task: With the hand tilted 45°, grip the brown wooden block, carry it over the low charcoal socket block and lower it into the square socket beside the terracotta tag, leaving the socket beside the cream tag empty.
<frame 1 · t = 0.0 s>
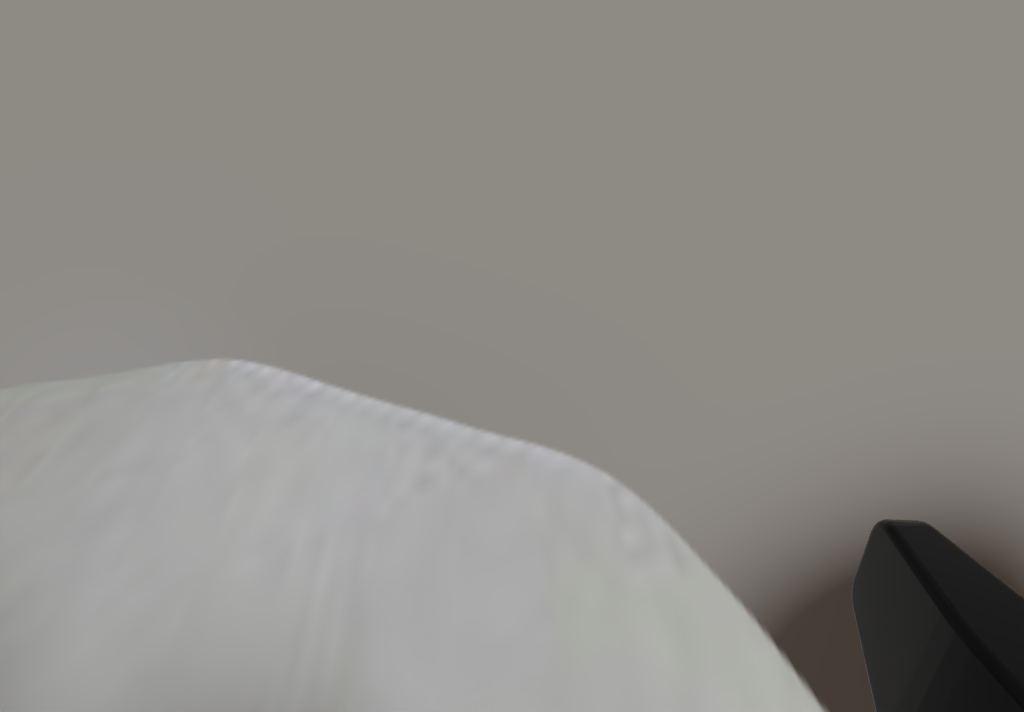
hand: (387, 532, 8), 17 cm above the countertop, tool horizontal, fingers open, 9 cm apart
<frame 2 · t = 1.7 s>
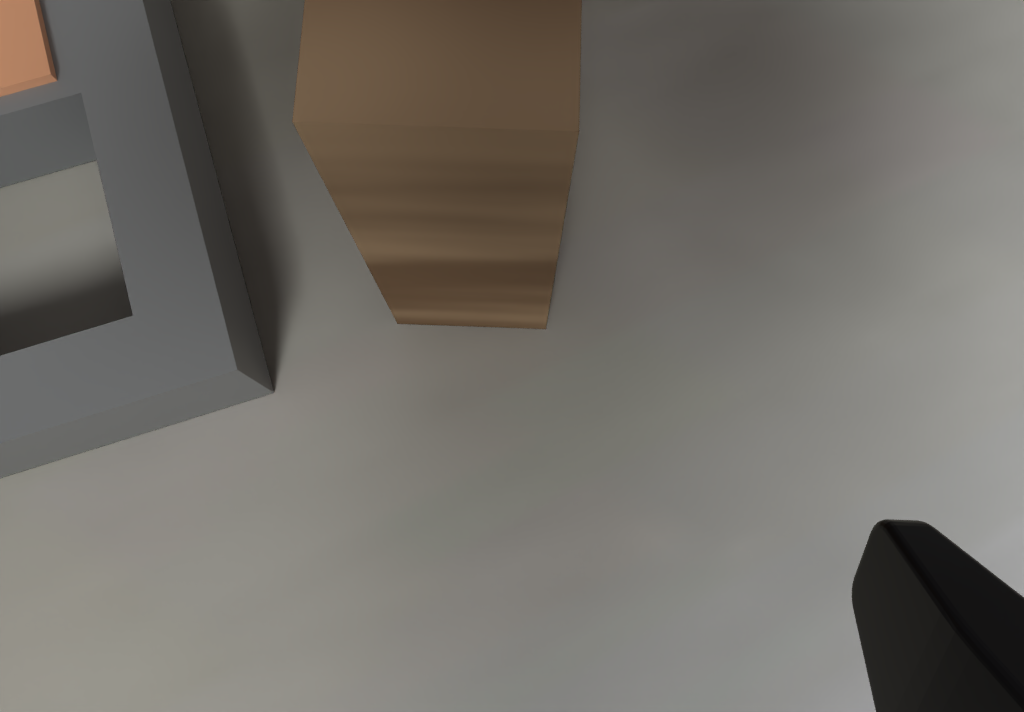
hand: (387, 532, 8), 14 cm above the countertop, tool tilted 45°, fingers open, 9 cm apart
brown wooden block: (474, 255, 23), on the countertop
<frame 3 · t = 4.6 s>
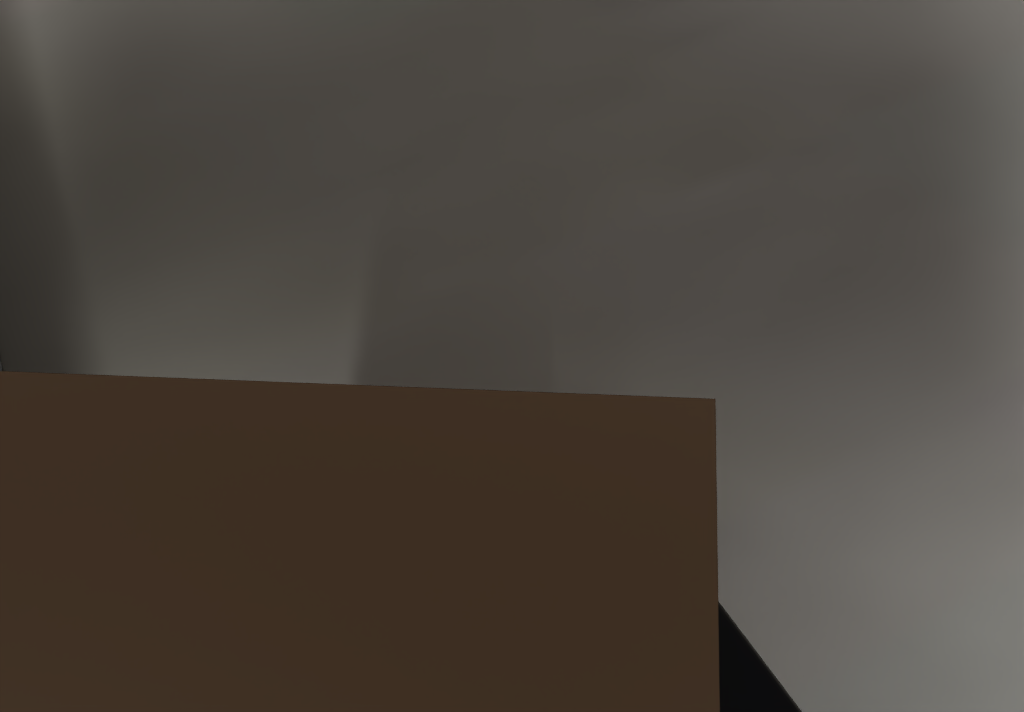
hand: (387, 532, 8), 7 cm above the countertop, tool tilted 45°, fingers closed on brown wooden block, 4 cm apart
brown wooden block: (438, 618, 14), on the countertop, touching gripper
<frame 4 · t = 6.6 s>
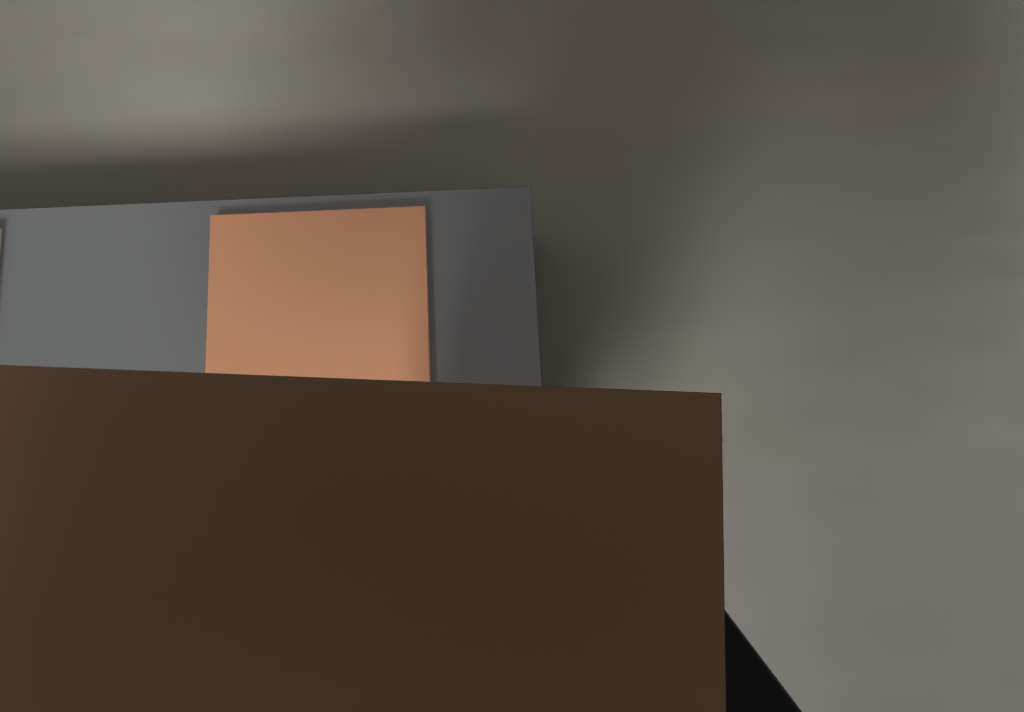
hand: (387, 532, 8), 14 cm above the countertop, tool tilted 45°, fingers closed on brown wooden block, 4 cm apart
brown wooden block: (440, 616, 14), point 7 cm above the countertop, touching gripper
socket block: (147, 589, 21), on the countertop
when the fingers open (8 cm above the countertop, at t = 8.5 s): brown wooden block drops 1 cm, resting in socket block.
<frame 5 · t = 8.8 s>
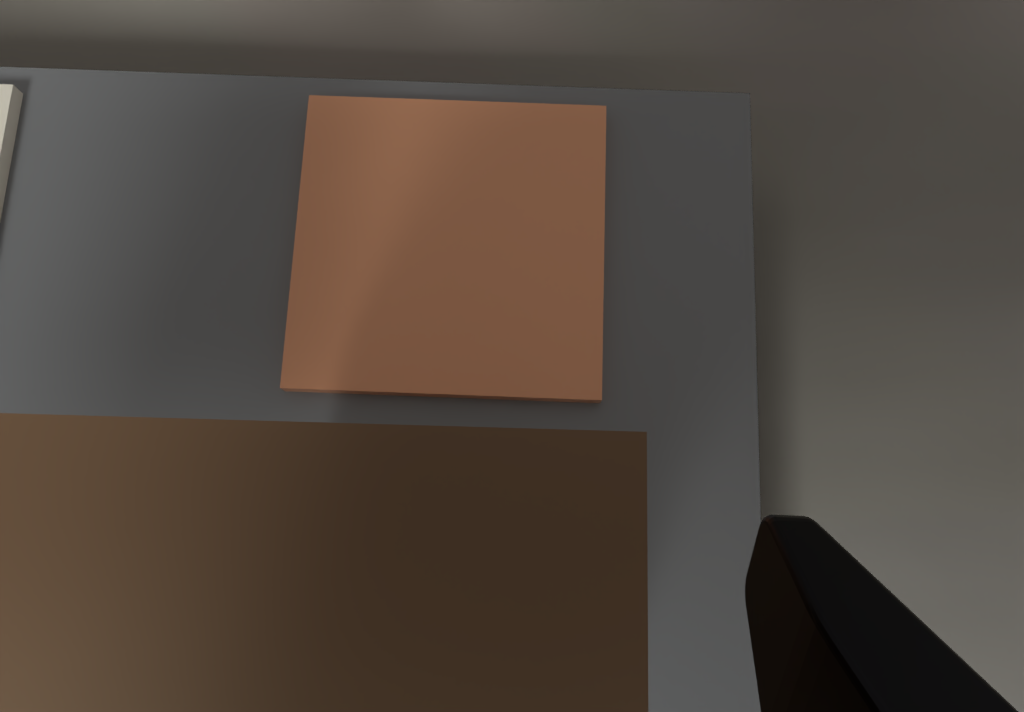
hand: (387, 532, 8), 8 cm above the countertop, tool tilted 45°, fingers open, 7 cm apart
brown wooden block: (444, 608, 15), resting in socket block
socket block: (175, 599, 15), on the countertop
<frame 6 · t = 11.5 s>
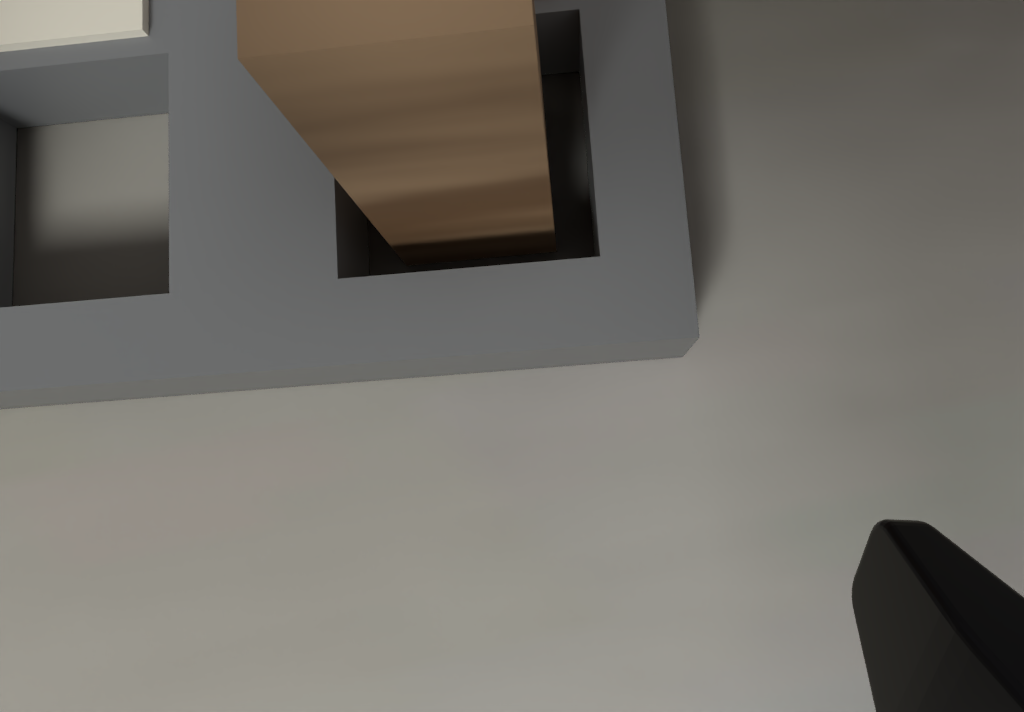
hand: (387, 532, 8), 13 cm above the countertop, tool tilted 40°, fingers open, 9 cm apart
brown wooden block: (476, 186, 22), resting in socket block
socket block: (293, 204, 22), on the countertop
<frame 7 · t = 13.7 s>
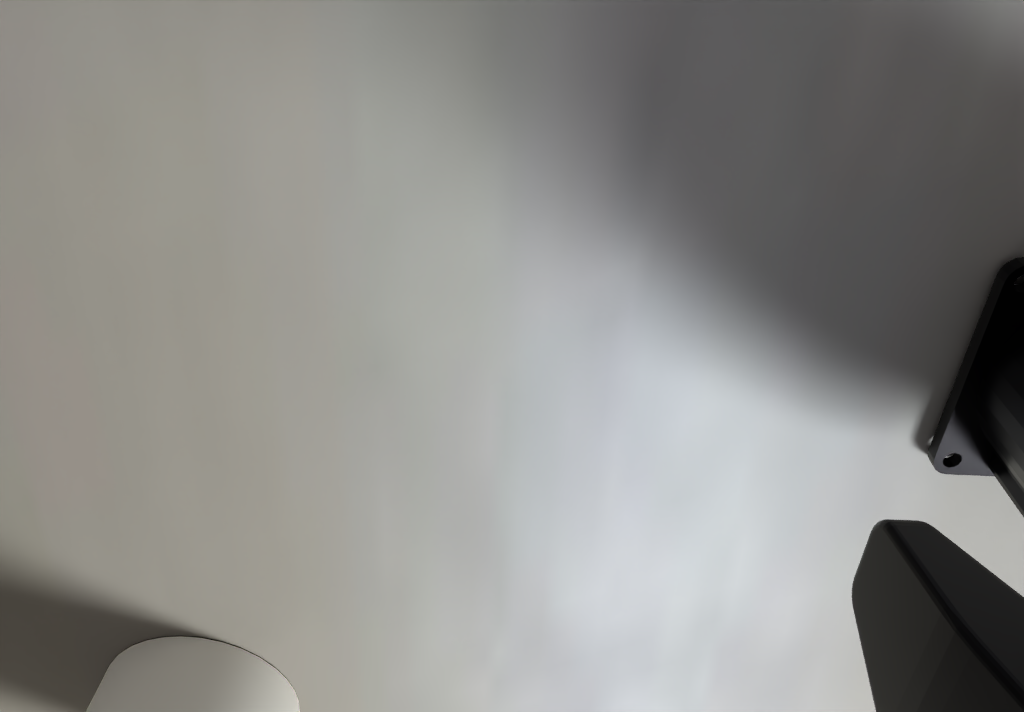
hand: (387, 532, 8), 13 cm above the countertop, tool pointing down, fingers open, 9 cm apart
cylindrical container: (205, 695, 31), on the countertop
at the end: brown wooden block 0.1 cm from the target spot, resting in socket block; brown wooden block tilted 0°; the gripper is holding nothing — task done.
